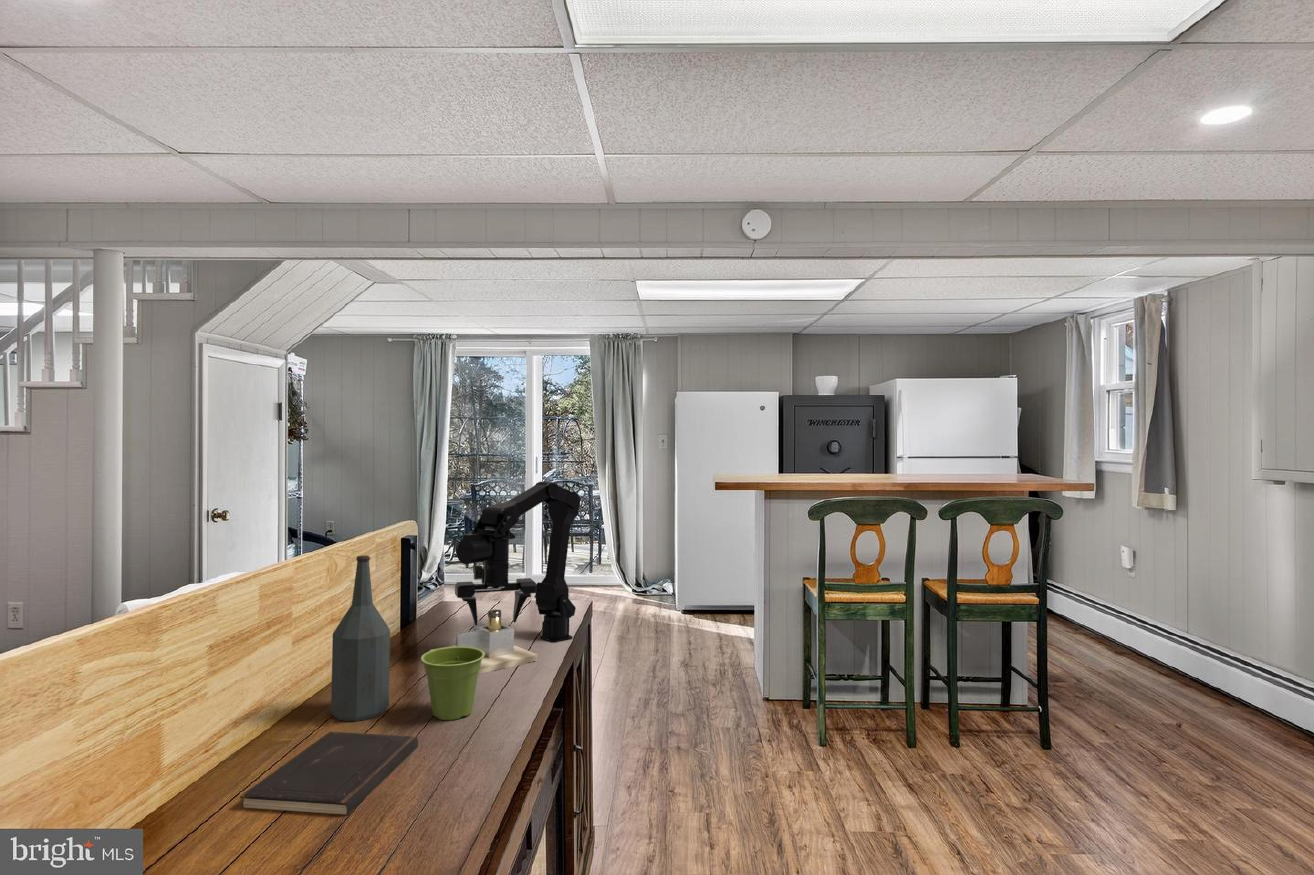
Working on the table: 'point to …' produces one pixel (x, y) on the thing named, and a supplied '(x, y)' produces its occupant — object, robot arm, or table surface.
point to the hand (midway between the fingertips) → (495, 623)
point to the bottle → (360, 655)
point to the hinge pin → (494, 620)
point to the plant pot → (452, 680)
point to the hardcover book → (331, 773)
